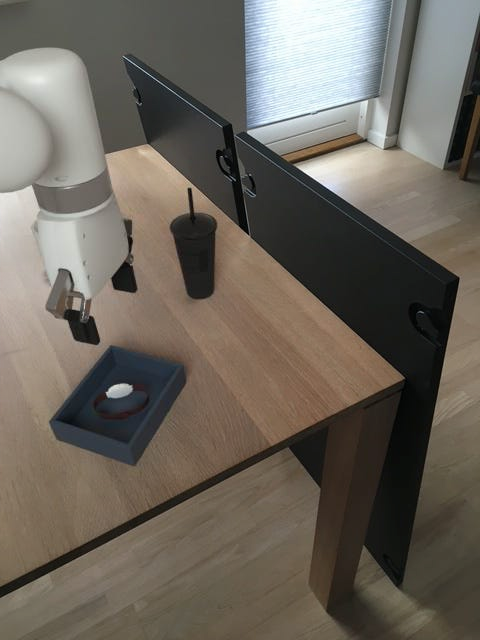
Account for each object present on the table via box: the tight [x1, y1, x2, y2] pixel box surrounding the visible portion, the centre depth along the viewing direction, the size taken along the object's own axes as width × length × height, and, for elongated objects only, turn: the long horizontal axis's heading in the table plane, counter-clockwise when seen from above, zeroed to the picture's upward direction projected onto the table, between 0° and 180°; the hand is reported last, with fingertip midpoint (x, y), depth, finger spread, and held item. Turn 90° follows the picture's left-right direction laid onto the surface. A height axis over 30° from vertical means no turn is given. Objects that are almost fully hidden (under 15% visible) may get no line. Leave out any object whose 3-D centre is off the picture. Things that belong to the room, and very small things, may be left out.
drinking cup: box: [169, 187, 218, 300], centre depth 89 cm, size 8×8×20 cm
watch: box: [93, 384, 149, 420], centre depth 75 cm, size 8×5×4 cm, turn 108°
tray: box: [48, 344, 187, 467], centre depth 75 cm, size 15×12×4 cm
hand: (107, 314), depth 65 cm, fingers open, 9 cm apart
